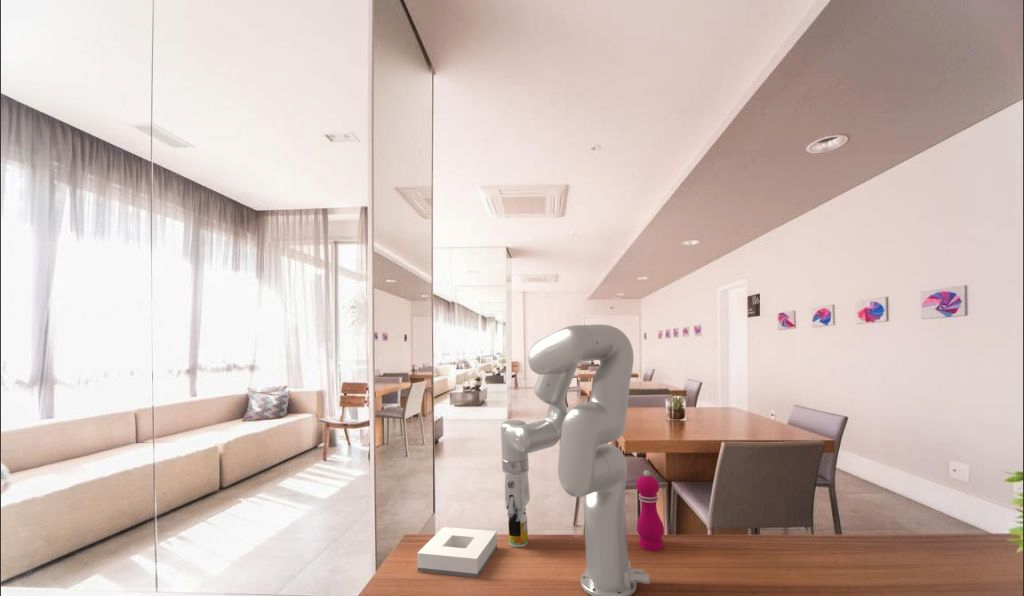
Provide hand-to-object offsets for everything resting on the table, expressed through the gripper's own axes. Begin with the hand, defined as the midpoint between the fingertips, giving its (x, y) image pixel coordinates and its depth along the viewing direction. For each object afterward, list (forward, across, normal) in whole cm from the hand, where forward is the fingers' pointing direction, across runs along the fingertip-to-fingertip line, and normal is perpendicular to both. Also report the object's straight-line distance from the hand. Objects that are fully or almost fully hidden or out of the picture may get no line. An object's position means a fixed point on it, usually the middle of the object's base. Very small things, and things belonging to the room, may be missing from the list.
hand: (517, 530), depth 129 cm
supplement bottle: (+4, 0, 0) cm, 4 cm away
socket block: (+3, -12, +13) cm, 18 cm away
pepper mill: (+4, +5, -36) cm, 37 cm away
